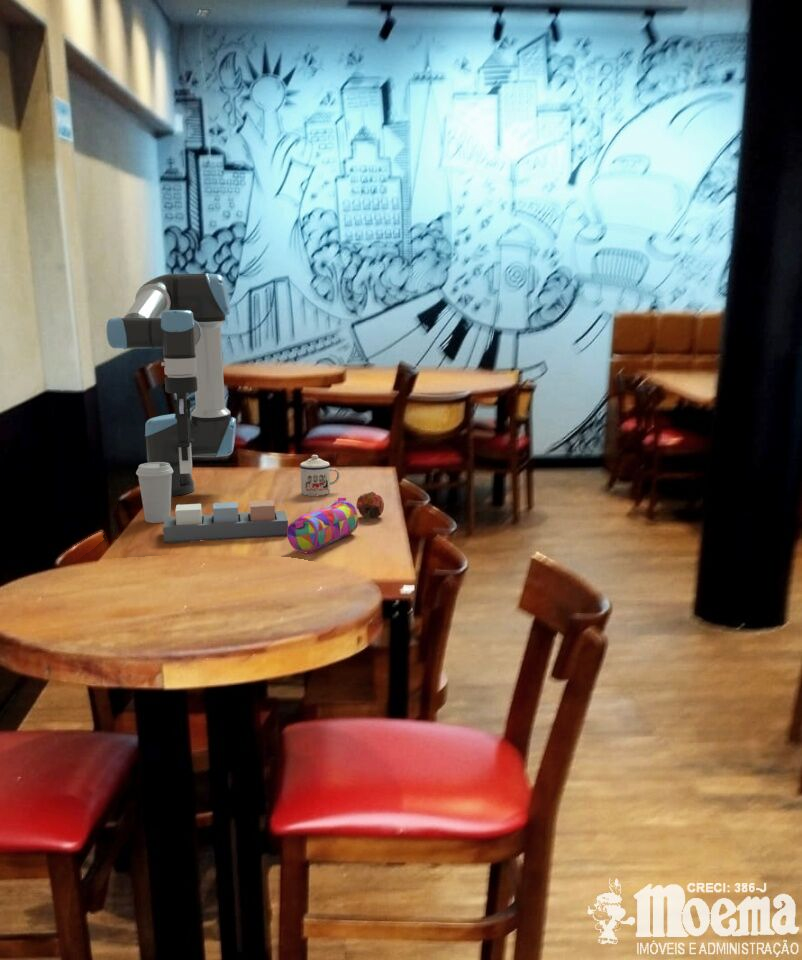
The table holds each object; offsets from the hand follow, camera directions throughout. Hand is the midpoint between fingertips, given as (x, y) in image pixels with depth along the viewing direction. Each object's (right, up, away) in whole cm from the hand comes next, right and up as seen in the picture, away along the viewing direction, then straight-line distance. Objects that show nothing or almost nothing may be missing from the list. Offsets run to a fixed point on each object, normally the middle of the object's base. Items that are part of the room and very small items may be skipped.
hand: (186, 471), depth 211 cm
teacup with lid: (+28, -6, +49) cm, 57 cm away
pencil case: (+34, -18, -2) cm, 38 cm away
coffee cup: (-12, -13, +19) cm, 26 cm away
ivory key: (0, -13, +3) cm, 14 cm away
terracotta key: (+18, -12, +6) cm, 23 cm away
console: (+9, -16, +5) cm, 19 cm away
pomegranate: (+44, -13, +20) cm, 51 cm away
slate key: (+9, -13, +5) cm, 16 cm away
